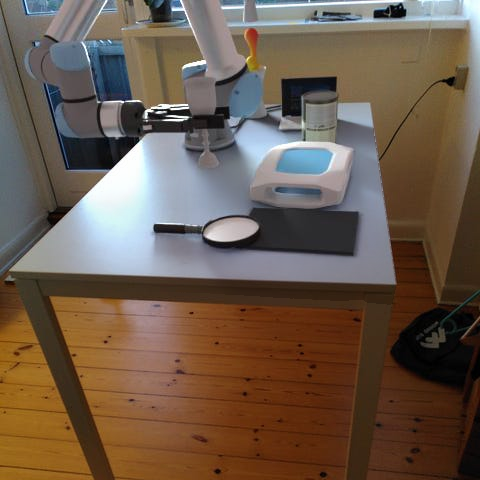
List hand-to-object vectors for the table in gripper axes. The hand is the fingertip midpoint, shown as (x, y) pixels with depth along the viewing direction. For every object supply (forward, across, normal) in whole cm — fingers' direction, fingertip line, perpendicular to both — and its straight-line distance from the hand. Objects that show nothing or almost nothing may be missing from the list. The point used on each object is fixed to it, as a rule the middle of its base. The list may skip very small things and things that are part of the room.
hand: (226, 116), depth 111 cm
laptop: (+14, -60, -20) cm, 65 cm away
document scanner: (+16, -11, -20) cm, 28 cm away
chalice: (-5, 0, -11) cm, 12 cm away
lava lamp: (-5, -73, -20) cm, 75 cm away
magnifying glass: (-3, +17, -20) cm, 26 cm away
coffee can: (+19, -40, -20) cm, 48 cm away
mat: (+17, +14, -20) cm, 29 cm away
